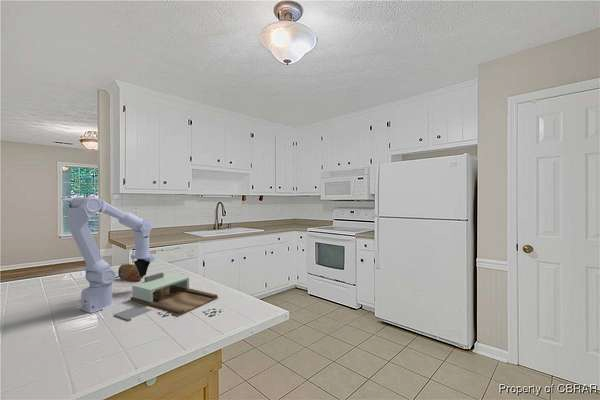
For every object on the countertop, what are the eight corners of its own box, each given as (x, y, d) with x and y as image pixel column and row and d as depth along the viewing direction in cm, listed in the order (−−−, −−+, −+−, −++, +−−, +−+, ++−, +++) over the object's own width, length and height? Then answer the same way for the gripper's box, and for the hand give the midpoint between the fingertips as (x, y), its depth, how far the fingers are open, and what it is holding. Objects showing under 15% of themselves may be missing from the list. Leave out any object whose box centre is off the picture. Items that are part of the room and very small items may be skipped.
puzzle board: (177, 316, 100) (177, 312, 100) (129, 301, 115) (129, 298, 115) (218, 298, 118) (218, 294, 118) (171, 287, 132) (171, 284, 132)
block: (160, 297, 117) (160, 286, 117) (154, 296, 119) (154, 284, 119) (169, 294, 121) (169, 283, 121) (163, 293, 123) (163, 281, 123)
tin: (117, 279, 145) (117, 263, 145) (123, 278, 148) (122, 262, 148) (140, 282, 140) (140, 265, 140) (145, 280, 143) (145, 264, 143)
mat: (128, 321, 97) (128, 319, 97) (113, 315, 101) (113, 314, 101) (152, 311, 105) (152, 309, 105) (138, 307, 109) (138, 305, 109)
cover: (150, 302, 109) (150, 284, 109) (132, 297, 115) (132, 280, 115) (189, 288, 125) (189, 272, 125) (171, 284, 131) (171, 269, 131)
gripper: (160, 245, 126) (161, 275, 126) (141, 243, 133) (141, 271, 133) (145, 248, 120) (146, 279, 120) (126, 245, 127) (126, 275, 127)
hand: (142, 275), depth 126 cm, fingers closed
